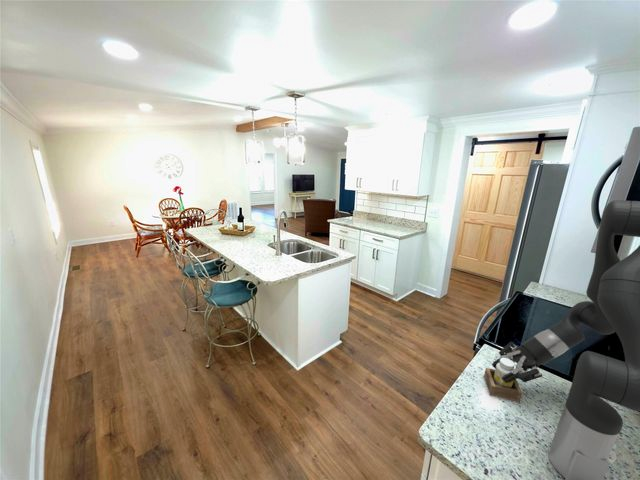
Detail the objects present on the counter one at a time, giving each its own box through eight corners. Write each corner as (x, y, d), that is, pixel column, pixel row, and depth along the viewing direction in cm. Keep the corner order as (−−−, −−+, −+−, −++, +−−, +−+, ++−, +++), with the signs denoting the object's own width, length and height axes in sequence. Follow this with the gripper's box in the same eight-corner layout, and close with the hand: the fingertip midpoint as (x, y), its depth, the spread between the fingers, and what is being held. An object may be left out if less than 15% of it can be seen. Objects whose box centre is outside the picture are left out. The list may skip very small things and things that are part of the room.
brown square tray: (519, 402, 85) (522, 393, 83) (489, 395, 87) (492, 385, 86) (511, 382, 92) (513, 373, 91) (483, 376, 95) (485, 367, 94)
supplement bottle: (490, 384, 90) (495, 361, 87) (496, 376, 93) (500, 353, 90) (508, 394, 86) (514, 370, 83) (514, 385, 89) (519, 362, 86)
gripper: (523, 325, 90) (481, 351, 95) (555, 354, 76) (504, 384, 81) (535, 339, 91) (493, 364, 96) (570, 370, 78) (518, 398, 82)
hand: (498, 373), depth 88 cm, fingers closed on supplement bottle, 5 cm apart
